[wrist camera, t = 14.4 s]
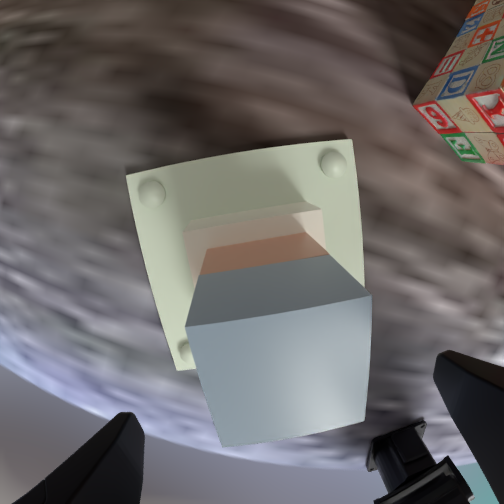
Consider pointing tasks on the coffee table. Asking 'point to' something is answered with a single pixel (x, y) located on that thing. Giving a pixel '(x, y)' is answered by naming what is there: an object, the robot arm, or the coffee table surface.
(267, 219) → the brick cream
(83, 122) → the coffee table surface
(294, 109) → the coffee table surface
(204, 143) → the coffee table surface
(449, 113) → the stack of blocks
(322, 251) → the brick terracotta
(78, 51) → the coffee table surface
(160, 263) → the baseplate
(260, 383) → the brick blue
